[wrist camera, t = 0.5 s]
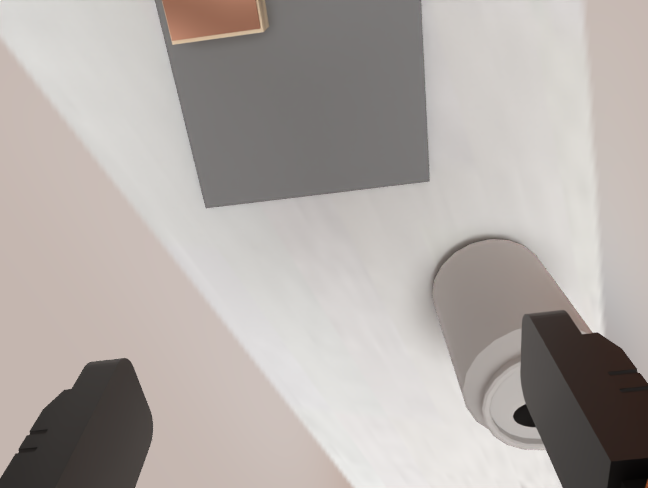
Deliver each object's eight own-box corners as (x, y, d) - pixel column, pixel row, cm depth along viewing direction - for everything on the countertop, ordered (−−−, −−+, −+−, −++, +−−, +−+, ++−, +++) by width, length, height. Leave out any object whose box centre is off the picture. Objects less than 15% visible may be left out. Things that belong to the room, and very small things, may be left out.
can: (431, 332, 39) (470, 468, 29) (428, 239, 36) (470, 353, 25) (537, 322, 39) (617, 457, 28) (544, 227, 36) (637, 338, 25)
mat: (113, -182, 26) (109, -184, 26) (408, -231, 25) (409, -234, 25) (207, 205, 35) (205, 208, 35) (428, 178, 34) (429, 181, 34)
